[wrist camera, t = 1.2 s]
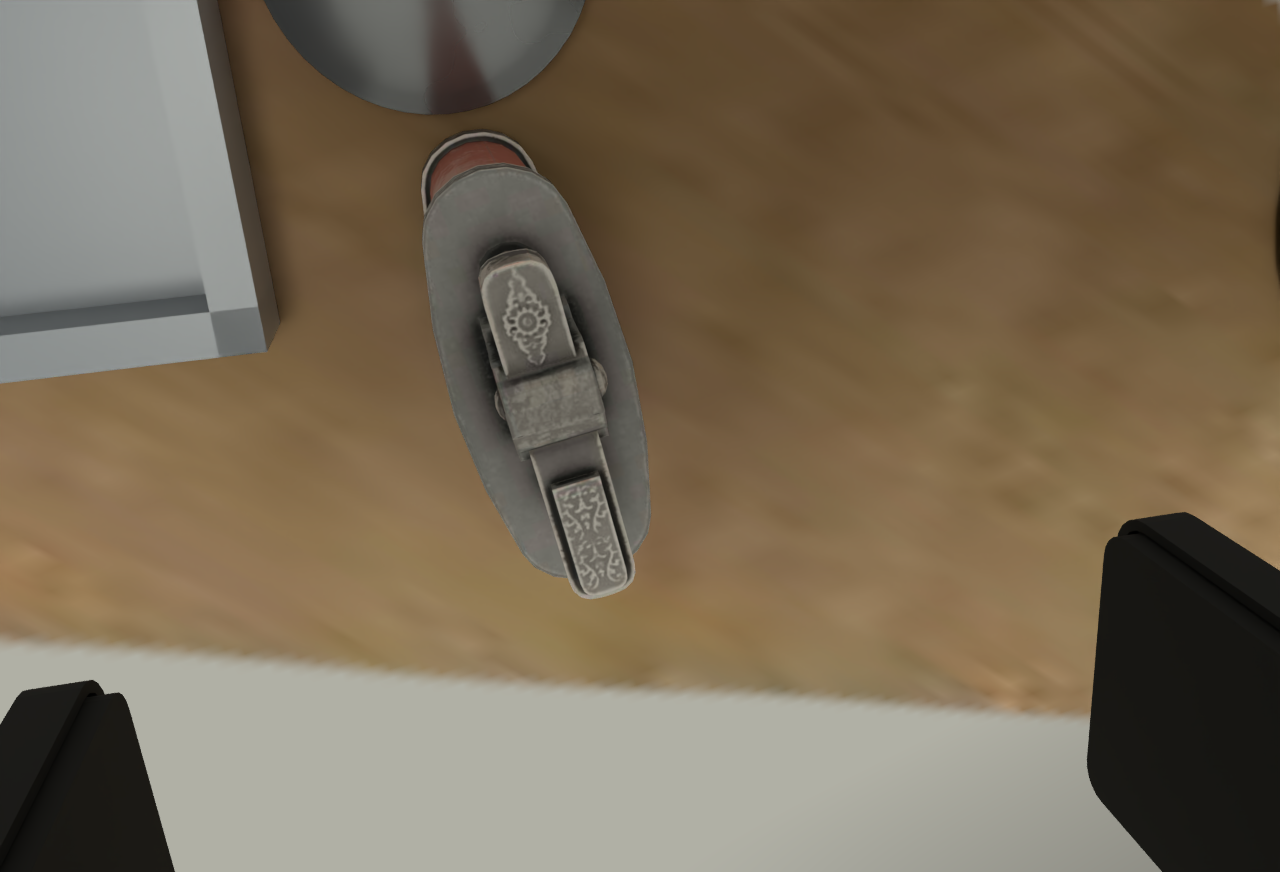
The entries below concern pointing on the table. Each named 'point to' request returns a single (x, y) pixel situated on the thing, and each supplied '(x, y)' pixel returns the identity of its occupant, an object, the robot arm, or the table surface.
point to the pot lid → (428, 47)
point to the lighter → (535, 362)
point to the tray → (124, 191)
